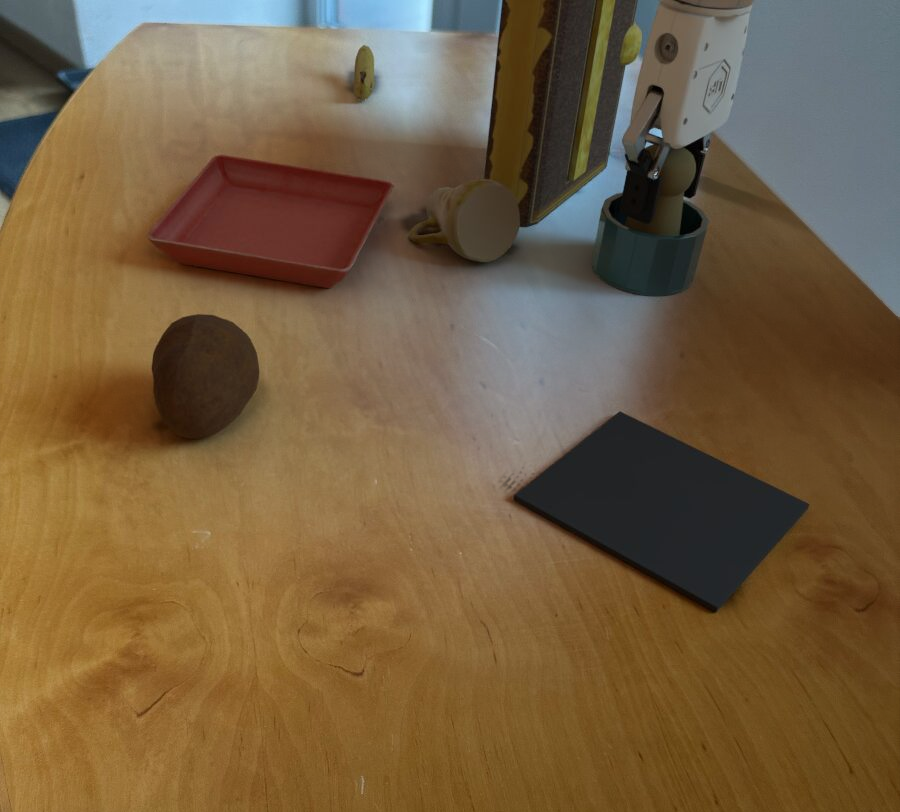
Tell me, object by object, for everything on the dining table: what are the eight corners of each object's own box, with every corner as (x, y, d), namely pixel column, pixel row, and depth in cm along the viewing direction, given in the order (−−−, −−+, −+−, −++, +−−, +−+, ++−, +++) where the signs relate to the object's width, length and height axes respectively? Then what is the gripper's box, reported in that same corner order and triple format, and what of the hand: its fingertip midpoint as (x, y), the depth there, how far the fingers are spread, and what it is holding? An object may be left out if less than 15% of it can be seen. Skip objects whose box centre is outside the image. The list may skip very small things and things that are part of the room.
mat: (807, 509, 73) (810, 503, 72) (715, 613, 65) (717, 607, 64) (618, 416, 79) (619, 410, 79) (512, 500, 71) (513, 494, 71)
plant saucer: (348, 304, 88) (349, 268, 85) (147, 271, 89) (142, 235, 87) (394, 214, 100) (396, 181, 98) (218, 186, 102) (215, 153, 99)
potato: (144, 454, 71) (127, 356, 66) (170, 376, 78) (157, 281, 73) (250, 460, 72) (242, 364, 66) (267, 382, 79) (261, 288, 73)
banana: (355, 77, 126) (355, 42, 123) (375, 79, 126) (375, 44, 123) (351, 108, 119) (352, 71, 116) (372, 109, 119) (373, 73, 116)
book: (539, 233, 100) (582, -63, 82) (463, 208, 102) (490, -85, 85) (625, 162, 114) (679, -104, 96) (557, 142, 116) (597, -121, 99)
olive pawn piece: (659, 290, 93) (689, 169, 85) (600, 268, 95) (623, 149, 87) (685, 265, 97) (715, 148, 89) (627, 245, 99) (652, 129, 91)
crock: (711, 271, 97) (726, 215, 93) (660, 307, 92) (675, 249, 88) (625, 236, 101) (637, 181, 97) (572, 269, 95) (582, 212, 91)
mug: (461, 215, 102) (513, 142, 94) (487, 297, 99) (541, 230, 91) (396, 205, 98) (443, 129, 90) (420, 291, 95) (471, 221, 87)
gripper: (696, 15, 73) (643, 251, 85) (799, -26, 83) (738, 191, 95) (608, -12, 75) (569, 220, 88) (718, -48, 86) (669, 165, 98)
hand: (657, 203), depth 92 cm, fingers open, 6 cm apart
